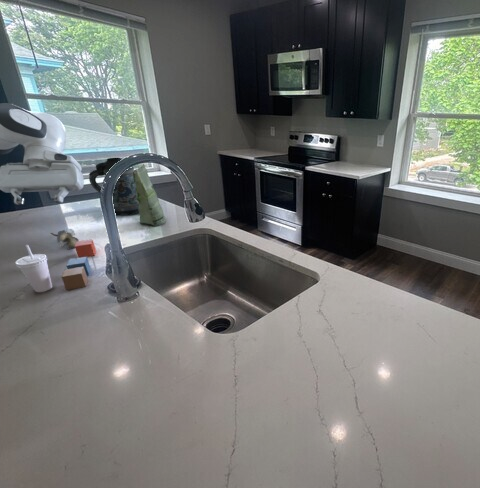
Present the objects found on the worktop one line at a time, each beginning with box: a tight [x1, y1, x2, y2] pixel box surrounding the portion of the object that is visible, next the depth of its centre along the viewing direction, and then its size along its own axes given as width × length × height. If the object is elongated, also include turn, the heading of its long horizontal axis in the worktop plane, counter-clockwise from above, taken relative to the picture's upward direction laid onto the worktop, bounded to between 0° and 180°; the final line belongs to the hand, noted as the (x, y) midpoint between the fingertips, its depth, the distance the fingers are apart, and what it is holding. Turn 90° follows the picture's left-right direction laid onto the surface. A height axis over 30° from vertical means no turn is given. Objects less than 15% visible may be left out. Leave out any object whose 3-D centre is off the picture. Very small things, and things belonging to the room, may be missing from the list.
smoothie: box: [14, 244, 53, 293], centre depth 83 cm, size 6×6×14 cm
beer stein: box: [88, 157, 140, 217], centre depth 139 cm, size 16×19×25 cm
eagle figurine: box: [50, 228, 80, 250], centre depth 109 cm, size 8×7×9 cm
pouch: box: [133, 163, 167, 227], centre depth 128 cm, size 11×12×25 cm
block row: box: [61, 238, 97, 291], centre depth 95 cm, size 4×26×4 cm, turn 29°
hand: (38, 202), depth 87 cm, fingers open, 8 cm apart
